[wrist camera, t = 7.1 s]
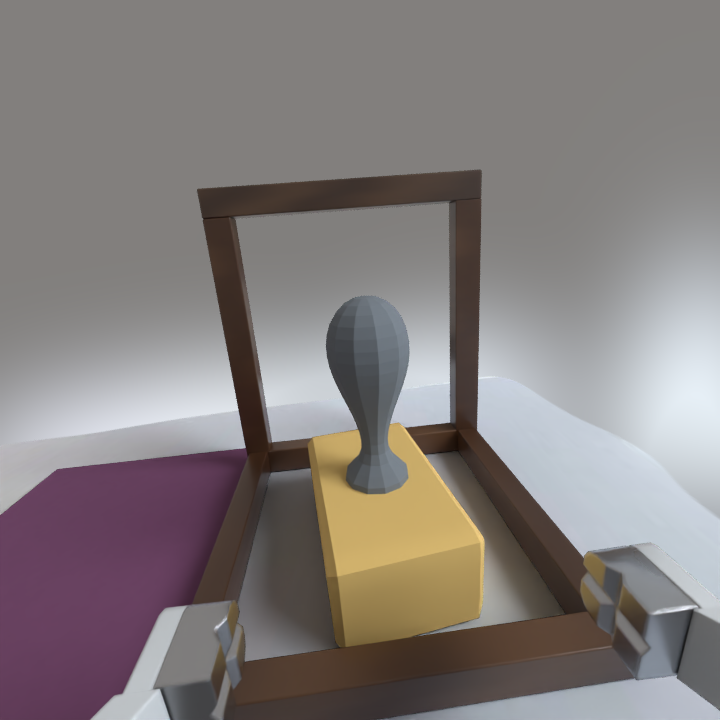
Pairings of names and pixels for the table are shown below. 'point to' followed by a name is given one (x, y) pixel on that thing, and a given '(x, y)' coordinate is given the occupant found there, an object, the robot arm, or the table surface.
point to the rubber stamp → (386, 498)
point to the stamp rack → (514, 503)
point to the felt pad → (101, 574)
